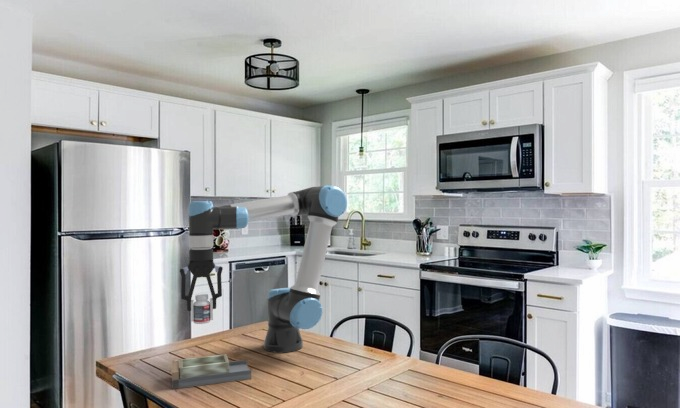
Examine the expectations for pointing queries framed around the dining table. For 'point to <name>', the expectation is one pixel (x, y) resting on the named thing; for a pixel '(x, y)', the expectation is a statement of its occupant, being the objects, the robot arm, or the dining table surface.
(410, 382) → the dining table surface
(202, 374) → the caddy
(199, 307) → the pill bottle
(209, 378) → the rail board
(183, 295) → the robot arm
